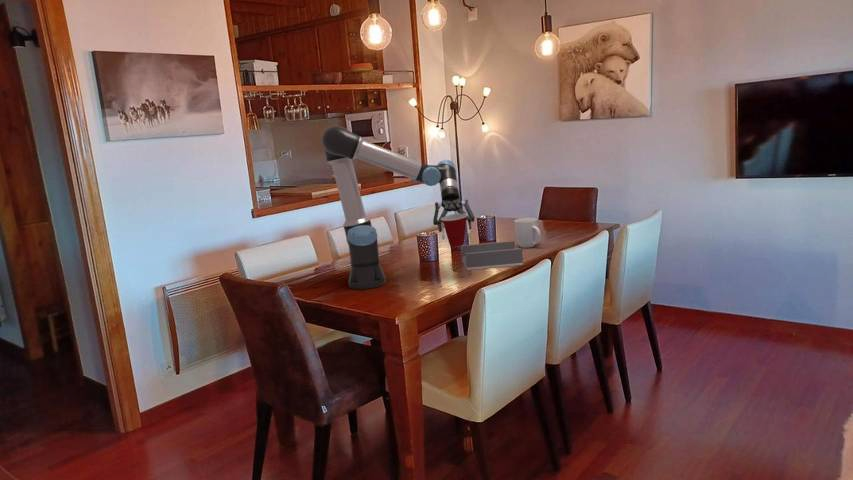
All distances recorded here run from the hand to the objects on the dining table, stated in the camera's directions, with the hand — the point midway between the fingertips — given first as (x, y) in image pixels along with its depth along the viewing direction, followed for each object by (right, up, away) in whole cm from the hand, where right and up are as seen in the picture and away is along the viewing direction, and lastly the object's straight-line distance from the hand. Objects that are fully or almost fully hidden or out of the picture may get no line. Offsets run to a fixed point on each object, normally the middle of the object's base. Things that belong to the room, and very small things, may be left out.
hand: (456, 236), depth 234 cm
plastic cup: (0, -4, +4) cm, 5 cm away
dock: (+17, -11, +25) cm, 32 cm away
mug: (+37, -5, +50) cm, 63 cm away
